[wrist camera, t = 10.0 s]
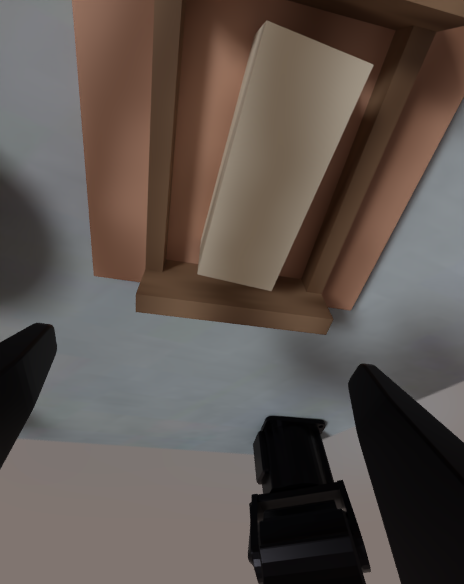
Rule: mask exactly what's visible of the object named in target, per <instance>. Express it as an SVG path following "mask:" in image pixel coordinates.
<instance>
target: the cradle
mask: <svg viewBox="0 0 464 584" xmlns="http://www.w3.org/2000/svg"><path fill="white" fill-rule="evenodd" d="M72 5H73V18H74V30H75V43H76V56H77V68H78V81H79V93H80V106H81V119H82V131H83V144H84V156H85V169H86V182H87V194H88V207H89V219H90V232H91V245H92V257H93V270H94V276H98V277H106V278H113V279H121V280H128V281H136V282H140V285H139V287H138V290H137V293H136V312H141V313H150V314H158V315H166V316H175V317H183V318H191V319H199V320H208V321H216V322H224V323H232V324H241V325H249V326H257V327H266V328H274V329H282V330H290V331H299V332H307V333H315V334H324V335H326V334H327V332H328V330H329V327H330V325H331V323H332V321H333V317H332V315H331V313H330V311H329V309H328V307H329V308H337V309H344V310H351V309H352V307H353V306H354V304H355V302H356V300H357V298H358V296H359V294H360V292H361V290H362V288H363V287H364V285H365V283H366V281H367V279H368V277H369V275H370V273H371V271H372V270H373V268H374V266H375V264H376V262H377V260H378V258H379V256H380V254H381V252H382V251H383V249H384V247H385V245H386V243H387V241H388V239H389V237H390V235H391V234H392V232H393V230H394V228H395V226H396V224H397V222H398V220H399V218H400V216H401V215H402V213H403V211H404V209H405V207H406V205H407V203H408V201H409V199H410V197H411V196H412V194H413V192H414V190H415V188H416V186H417V184H418V182H419V180H420V179H421V177H422V175H423V173H424V171H425V169H426V167H427V165H428V163H429V161H430V160H431V158H432V156H433V154H434V152H435V150H436V148H437V146H438V144H439V143H440V141H441V139H442V137H443V135H444V133H445V131H446V129H447V127H448V125H449V124H450V122H451V120H452V118H453V116H454V114H455V112H456V110H457V108H458V107H459V105H460V103H461V101H462V99H463V97H464V0H72ZM266 20H267V21H270V22H272V23H274V24H277V25H279V26H282V27H284V28H286V29H289V30H291V31H294V32H296V33H298V34H301V35H303V36H306V37H308V38H311V39H313V40H315V41H318V42H320V43H323V44H325V45H327V46H330V47H332V48H335V49H337V50H339V51H342V52H344V53H347V54H349V55H352V56H354V57H356V58H359V59H361V60H364V61H366V62H368V63H371V64H373V68H372V70H371V72H370V74H369V76H368V79H367V81H366V83H365V85H364V87H363V90H362V92H361V94H360V96H359V99H358V101H357V103H356V105H355V107H354V110H353V112H352V114H351V116H350V118H349V121H348V123H347V125H346V127H345V130H344V132H343V134H342V136H341V138H340V141H339V143H338V145H337V147H336V150H335V152H334V154H333V156H332V158H331V161H330V163H329V165H328V167H327V169H326V172H325V174H324V176H323V178H322V181H321V183H320V185H319V187H318V189H317V192H316V194H315V196H314V198H313V200H312V203H311V205H310V207H309V209H308V212H307V214H306V216H305V218H304V220H303V223H302V225H301V227H300V229H299V231H298V234H297V236H296V238H295V240H294V243H293V245H292V247H291V249H290V251H289V254H288V256H287V258H286V260H285V262H284V265H283V267H282V269H281V271H280V274H279V276H278V278H277V280H276V282H275V285H274V287H273V289H272V291H268V290H264V289H259V288H255V287H251V286H246V285H242V284H237V283H233V282H229V281H224V280H220V279H216V278H211V277H207V276H203V275H198V274H197V272H198V263H199V253H200V244H201V238H202V234H203V230H204V226H205V222H206V218H207V215H208V211H209V207H210V203H211V199H212V196H213V192H214V188H215V184H216V180H217V176H218V173H219V169H220V165H221V161H222V157H223V153H224V150H225V146H226V142H227V138H228V134H229V130H230V127H231V123H232V119H233V115H234V111H235V107H236V104H237V100H238V96H239V92H240V88H241V84H242V81H243V77H244V73H245V69H246V65H247V62H248V58H249V54H250V50H251V46H252V42H253V39H254V35H255V34H256V32H257V31H258V30H259V29H260V28H261V26H262V25H263V24H264V23H265V22H266Z"/></svg>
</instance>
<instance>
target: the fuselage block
mask: <svg viewBox="0 0 464 584" xmlns="http://www.w3.org/2000/svg"><path fill="white" fill-rule="evenodd" d="M372 68H373V64H371V63H368V62H366V61H364V60H361V59H359V58H356V57H354V56H352V55H349V54H347V53H344V52H342V51H339V50H337V49H335V48H332V47H330V46H327V45H325V44H323V43H320V42H318V41H315V40H313V39H311V38H308V37H306V36H303V35H301V34H298V33H296V32H294V31H291V30H289V29H286V28H284V27H282V26H279V25H277V24H274V23H272V22H270V21H267V20H266V22H265V23H264V24H263V25H262V26H261V28H260V29H259V30H258V31H257V32H256V34H255V35H254V39H253V42H252V46H251V50H250V54H249V58H248V62H247V65H246V69H245V73H244V77H243V81H242V84H241V88H240V92H239V96H238V100H237V104H236V107H235V111H234V115H233V119H232V123H231V127H230V130H229V134H228V138H227V142H226V146H225V150H224V153H223V157H222V161H221V165H220V169H219V173H218V176H217V180H216V184H215V188H214V192H213V196H212V199H211V203H210V207H209V211H208V215H207V218H206V222H205V226H204V230H203V234H202V238H201V244H200V253H199V263H198V272H197V274H198V275H203V276H207V277H211V278H216V279H220V280H224V281H229V282H233V283H237V284H242V285H246V286H251V287H255V288H259V289H264V290H268V291H272V289H273V287H274V285H275V282H276V280H277V278H278V276H279V274H280V271H281V269H282V267H283V265H284V262H285V260H286V258H287V256H288V254H289V251H290V249H291V247H292V245H293V243H294V240H295V238H296V236H297V234H298V231H299V229H300V227H301V225H302V223H303V220H304V218H305V216H306V214H307V212H308V209H309V207H310V205H311V203H312V200H313V198H314V196H315V194H316V192H317V189H318V187H319V185H320V183H321V181H322V178H323V176H324V174H325V172H326V169H327V167H328V165H329V163H330V161H331V158H332V156H333V154H334V152H335V150H336V147H337V145H338V143H339V141H340V138H341V136H342V134H343V132H344V130H345V127H346V125H347V123H348V121H349V118H350V116H351V114H352V112H353V110H354V107H355V105H356V103H357V101H358V99H359V96H360V94H361V92H362V90H363V87H364V85H365V83H366V81H367V79H368V76H369V74H370V72H371V70H372Z"/></svg>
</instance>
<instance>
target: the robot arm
mask: <svg viewBox="0 0 464 584" xmlns="http://www.w3.org/2000/svg"><path fill="white" fill-rule="evenodd" d="M56 351H57V343H56V337H55V331H54V327H53V326H52V325H50V324H44V323H35V324H32V325H30V326H29V327H27V328H25V329H23V330H22V331H20V332H18V333H16V334H14V335H13V336H11V337H9V338H7V339H5V340H4V341H2V342H0V469H1V467H2V465H3V463H4V461H5V460H6V458H7V456H8V454H9V452H10V450H11V449H12V447H13V445H14V443H15V441H16V439H17V438H18V436H19V434H20V432H21V430H22V429H23V427H24V425H25V423H26V421H27V419H28V418H29V416H30V414H31V412H32V410H33V408H34V406H35V404H36V401H37V399H38V397H39V394H40V392H41V389H42V387H43V384H44V382H45V380H46V377H47V375H48V372H49V370H50V367H51V365H52V362H53V360H54V357H55V355H56ZM348 388H349V394H350V399H351V404H352V410H353V415H354V420H355V425H356V430H357V434H358V438H359V442H360V446H361V449H362V452H363V456H364V459H365V463H366V466H367V469H368V473H369V476H370V479H371V483H372V486H373V490H374V493H375V496H376V500H377V503H378V506H379V510H380V513H381V517H382V520H383V524H384V527H385V530H386V533H387V537H388V541H389V544H390V547H391V551H392V554H393V558H394V561H395V564H396V568H397V571H398V574H399V578H400V581H401V584H464V442H462V441H461V440H460V439H459V438H458V437H457V436H455V435H454V434H453V433H452V432H451V431H450V430H449V429H447V428H446V427H445V426H444V425H443V424H442V423H440V422H439V421H438V420H437V419H436V418H435V417H433V416H432V415H431V414H430V413H429V412H428V411H427V410H426V409H424V408H423V407H422V406H421V405H420V404H419V403H417V402H416V401H415V400H414V399H413V398H412V397H411V396H409V395H408V394H407V393H406V392H405V391H404V390H402V389H401V388H400V387H399V386H398V385H397V384H396V383H394V382H393V381H392V380H391V379H390V378H389V377H387V376H386V375H385V374H384V373H383V372H382V371H381V370H379V369H378V368H377V367H376V366H374V365H371V364H360V365H359V366H358V367H357V369H356V370H355V372H354V373H353V375H352V376H351V378H350V380H349V383H348ZM325 427H326V425H325V422H324V421H322V420H310V419H297V418H284V417H272V416H271V417H267V418H266V419H265V421H264V424H263V426H262V428H261V431H259V432H258V434H257V436H256V439H255V441H254V443H253V449H254V459H255V470H256V480H257V483H258V484H262V488H263V494H259V495H258V494H253V495H252V502H251V503H250V504H249V506H250V536H249V547H248V559H249V562H250V563H251V564H252V565H253V566H254V570H255V572H256V577H257V580H258V583H259V584H366V583H365V579H364V576H363V572H364V573H366V572H371V569H370V565H369V560H368V557H367V553H366V549H365V546H364V542H363V539H362V536H361V533H360V530H359V526H358V523H357V521H356V518H355V515H354V512H353V509H352V506H351V503H350V500H349V497H348V494H347V491H346V488H345V485H344V482H343V480H339V481H337V482H334V480H333V477H332V473H331V470H330V467H329V463H328V459H327V456H326V452H325V449H324V445H323V442H322V439H321V433H322V431H323V430H324V428H325ZM341 508H342V509H343V510H342V509H341Z"/></svg>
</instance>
